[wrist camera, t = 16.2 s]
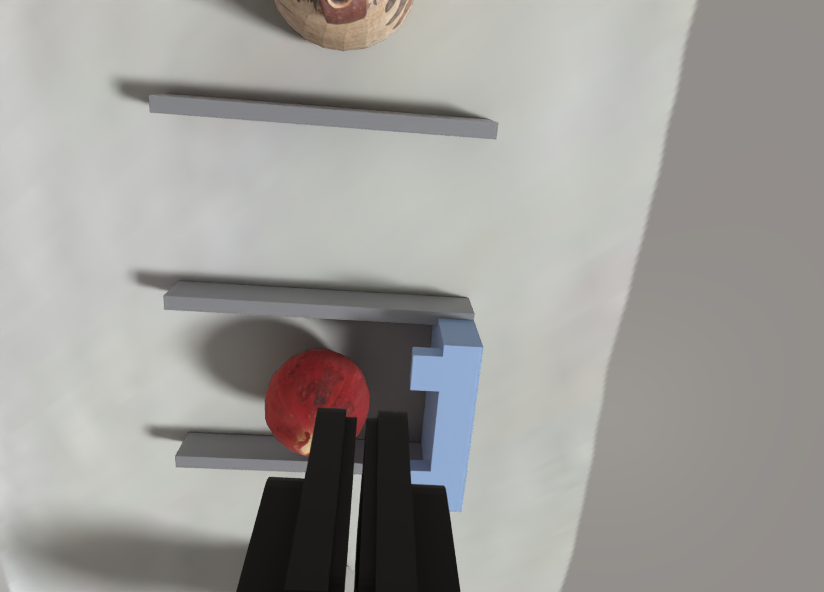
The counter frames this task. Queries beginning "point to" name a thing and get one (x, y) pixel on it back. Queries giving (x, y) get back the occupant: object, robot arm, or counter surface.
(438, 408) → the blue bracket
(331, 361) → the pomegranate
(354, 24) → the painted ceramic spouted vessel
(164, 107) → the grey parallel strips
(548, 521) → the counter surface
